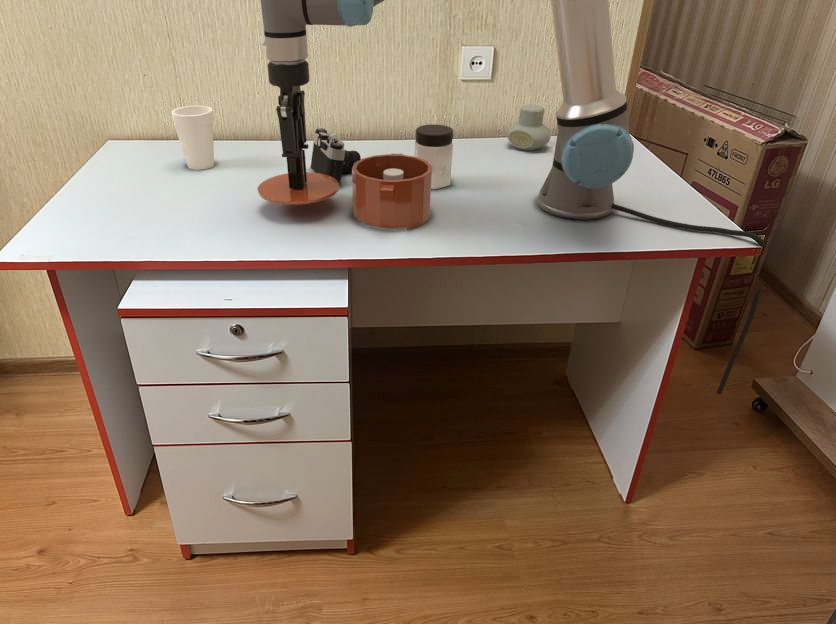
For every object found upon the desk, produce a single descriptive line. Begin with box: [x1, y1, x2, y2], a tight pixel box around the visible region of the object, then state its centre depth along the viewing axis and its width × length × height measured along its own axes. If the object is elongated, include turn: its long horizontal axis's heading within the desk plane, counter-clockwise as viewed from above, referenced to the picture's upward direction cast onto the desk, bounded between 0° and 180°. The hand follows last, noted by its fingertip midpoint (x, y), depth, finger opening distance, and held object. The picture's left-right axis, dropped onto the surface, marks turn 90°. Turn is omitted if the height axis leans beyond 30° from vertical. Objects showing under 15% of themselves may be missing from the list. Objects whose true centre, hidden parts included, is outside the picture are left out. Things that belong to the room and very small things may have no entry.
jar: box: [414, 124, 454, 190], centre depth 142 cm, size 9×8×12 cm
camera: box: [310, 126, 362, 187], centre depth 147 cm, size 15×11×10 cm
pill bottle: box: [383, 169, 403, 180], centre depth 128 cm, size 5×5×8 cm
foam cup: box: [170, 105, 215, 171], centre depth 153 cm, size 10×9×13 cm
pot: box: [351, 153, 432, 230], centre depth 128 cm, size 16×21×10 cm
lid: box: [257, 148, 340, 205], centre depth 128 cm, size 17×17×9 cm
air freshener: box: [506, 104, 552, 151], centre depth 163 cm, size 11×8×10 cm
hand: (298, 184), depth 130 cm, fingers closed on lid, 3 cm apart
